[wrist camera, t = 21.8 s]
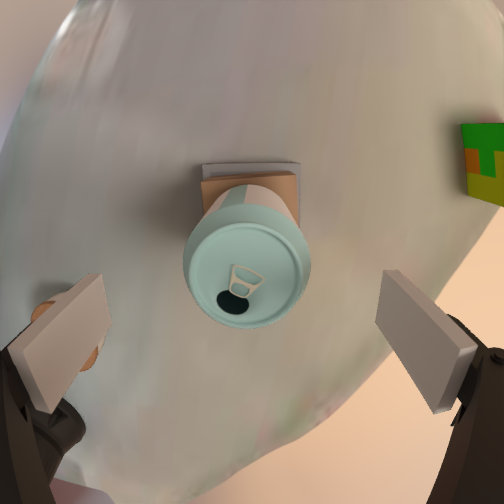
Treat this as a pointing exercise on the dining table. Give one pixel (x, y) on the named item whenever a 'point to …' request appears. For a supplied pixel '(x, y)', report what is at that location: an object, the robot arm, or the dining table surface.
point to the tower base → (253, 171)
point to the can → (247, 259)
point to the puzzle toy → (485, 161)
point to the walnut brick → (274, 181)
